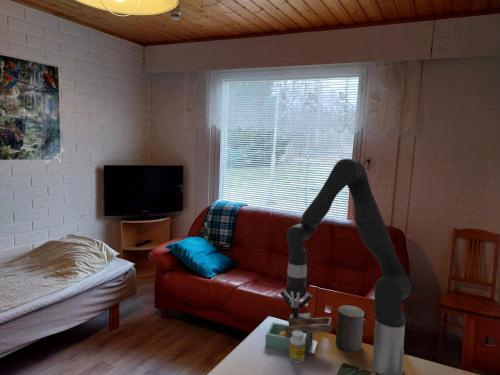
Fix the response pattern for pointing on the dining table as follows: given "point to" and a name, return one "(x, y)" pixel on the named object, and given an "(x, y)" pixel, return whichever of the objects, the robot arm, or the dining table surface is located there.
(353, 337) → the pillar candle
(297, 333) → the supplement bottle
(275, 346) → the green open box
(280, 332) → the ball
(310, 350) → the stand
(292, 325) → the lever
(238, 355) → the dining table surface
